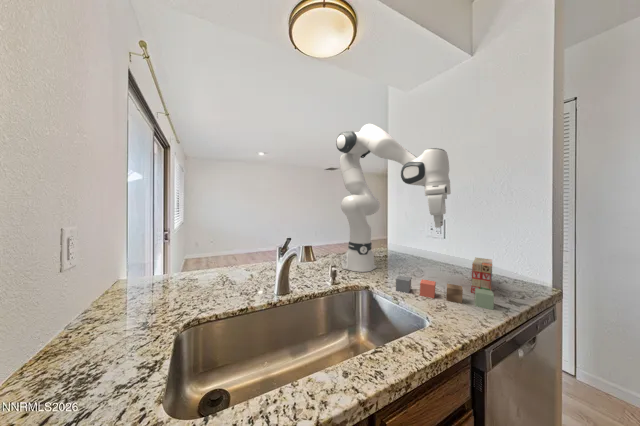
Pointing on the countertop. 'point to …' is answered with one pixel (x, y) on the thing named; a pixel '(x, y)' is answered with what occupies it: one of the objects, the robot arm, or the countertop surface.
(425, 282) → the red cube
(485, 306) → the sage cube
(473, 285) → the cardboard box
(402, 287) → the charcoal cube
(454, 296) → the walnut cube
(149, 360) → the countertop surface
